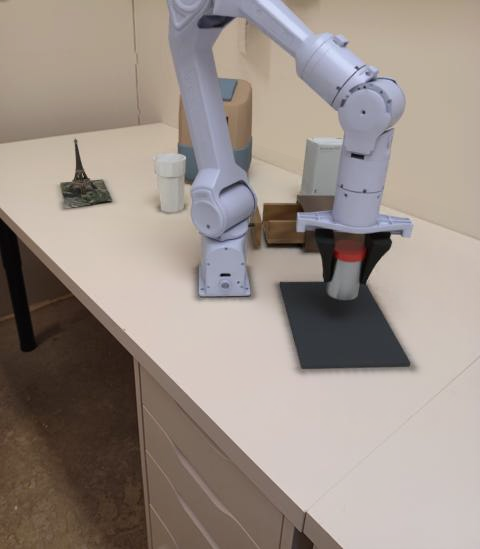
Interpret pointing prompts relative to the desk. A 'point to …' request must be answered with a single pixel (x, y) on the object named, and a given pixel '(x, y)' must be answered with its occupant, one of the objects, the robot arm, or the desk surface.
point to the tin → (346, 270)
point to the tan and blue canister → (238, 122)
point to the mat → (339, 329)
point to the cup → (170, 180)
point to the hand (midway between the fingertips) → (344, 279)
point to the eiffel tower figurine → (83, 187)
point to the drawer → (277, 224)
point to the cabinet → (316, 205)
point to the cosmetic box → (321, 166)
